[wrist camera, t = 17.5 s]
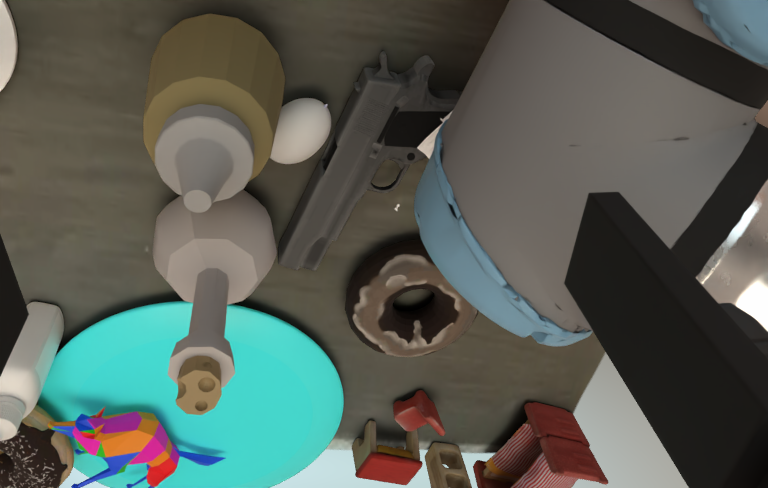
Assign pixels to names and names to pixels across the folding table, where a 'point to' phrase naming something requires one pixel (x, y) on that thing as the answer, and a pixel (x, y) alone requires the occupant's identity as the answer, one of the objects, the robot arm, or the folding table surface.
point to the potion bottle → (210, 285)
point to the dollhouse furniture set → (496, 476)
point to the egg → (300, 130)
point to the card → (429, 143)
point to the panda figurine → (7, 44)
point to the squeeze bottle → (212, 107)
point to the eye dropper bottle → (29, 365)
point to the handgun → (364, 153)
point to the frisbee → (233, 411)
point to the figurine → (128, 445)
